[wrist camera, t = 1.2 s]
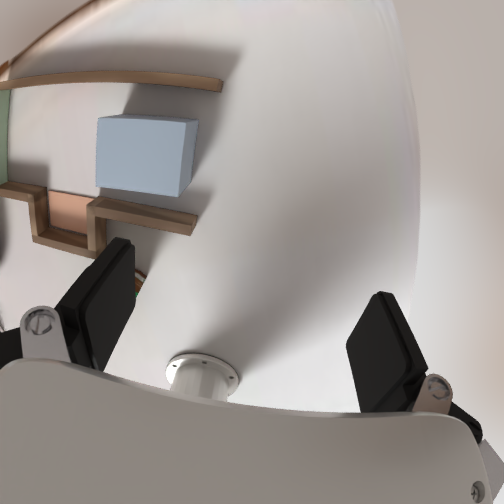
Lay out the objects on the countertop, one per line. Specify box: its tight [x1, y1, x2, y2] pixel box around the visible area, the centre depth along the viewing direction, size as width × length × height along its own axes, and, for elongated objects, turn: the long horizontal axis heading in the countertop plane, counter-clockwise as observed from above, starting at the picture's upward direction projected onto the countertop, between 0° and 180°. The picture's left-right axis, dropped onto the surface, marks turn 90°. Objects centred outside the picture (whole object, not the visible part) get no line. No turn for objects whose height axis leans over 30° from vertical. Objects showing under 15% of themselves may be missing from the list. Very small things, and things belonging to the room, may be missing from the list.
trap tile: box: [48, 190, 94, 234], centre depth 33 cm, size 5×8×1 cm, turn 77°
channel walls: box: [0, 71, 223, 260], centre depth 28 cm, size 22×31×3 cm
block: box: [96, 114, 199, 197], centre depth 27 cm, size 7×9×6 cm
